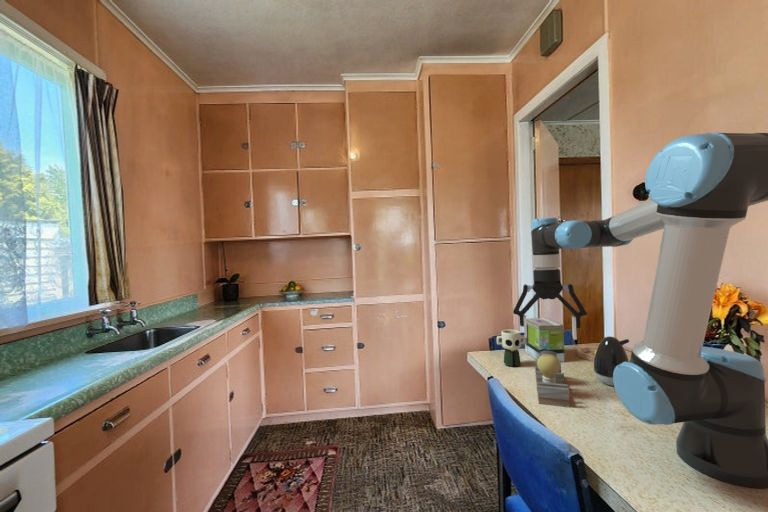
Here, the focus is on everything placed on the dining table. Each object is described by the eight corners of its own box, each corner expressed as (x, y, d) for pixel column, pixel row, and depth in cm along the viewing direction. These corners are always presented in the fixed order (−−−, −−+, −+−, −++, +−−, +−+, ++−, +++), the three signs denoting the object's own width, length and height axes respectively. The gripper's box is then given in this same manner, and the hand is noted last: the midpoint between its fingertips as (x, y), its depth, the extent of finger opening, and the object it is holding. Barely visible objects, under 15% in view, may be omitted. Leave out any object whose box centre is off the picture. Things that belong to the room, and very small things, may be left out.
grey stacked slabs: (569, 407, 98) (568, 372, 98) (538, 403, 101) (537, 369, 101) (560, 376, 120) (559, 348, 120) (535, 374, 123) (534, 346, 123)
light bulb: (542, 381, 112) (541, 350, 111) (564, 385, 107) (562, 353, 107) (534, 387, 107) (533, 355, 107) (556, 392, 103) (555, 359, 102)
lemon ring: (623, 363, 131) (623, 357, 130) (580, 360, 136) (580, 355, 136) (614, 352, 144) (613, 347, 144) (575, 350, 149) (575, 345, 149)
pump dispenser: (638, 389, 107) (637, 340, 107) (601, 388, 109) (599, 340, 109) (623, 377, 117) (621, 332, 117) (589, 376, 119) (587, 332, 119)
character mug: (499, 368, 132) (498, 334, 132) (495, 361, 139) (494, 329, 139) (529, 367, 131) (528, 333, 130) (524, 361, 138) (522, 329, 137)
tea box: (565, 362, 135) (564, 324, 134) (539, 363, 135) (538, 325, 135) (548, 350, 150) (546, 316, 150) (524, 351, 150) (523, 317, 150)
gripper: (590, 266, 105) (594, 336, 105) (504, 269, 114) (507, 333, 115) (595, 268, 98) (599, 342, 98) (502, 270, 107) (506, 338, 108)
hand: (549, 337), depth 107 cm, fingers open, 13 cm apart
